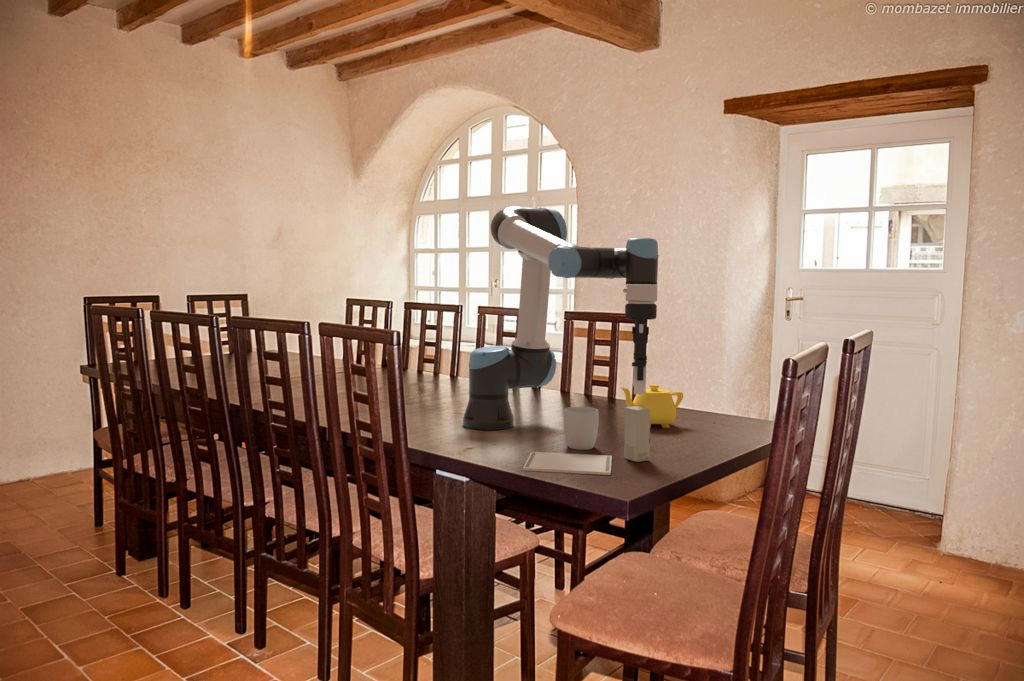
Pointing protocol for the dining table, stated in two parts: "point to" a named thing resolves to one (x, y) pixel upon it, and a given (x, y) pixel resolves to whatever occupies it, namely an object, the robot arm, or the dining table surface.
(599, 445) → the dining table surface
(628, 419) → the box
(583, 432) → the mug
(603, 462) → the white tray
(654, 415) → the teapot
